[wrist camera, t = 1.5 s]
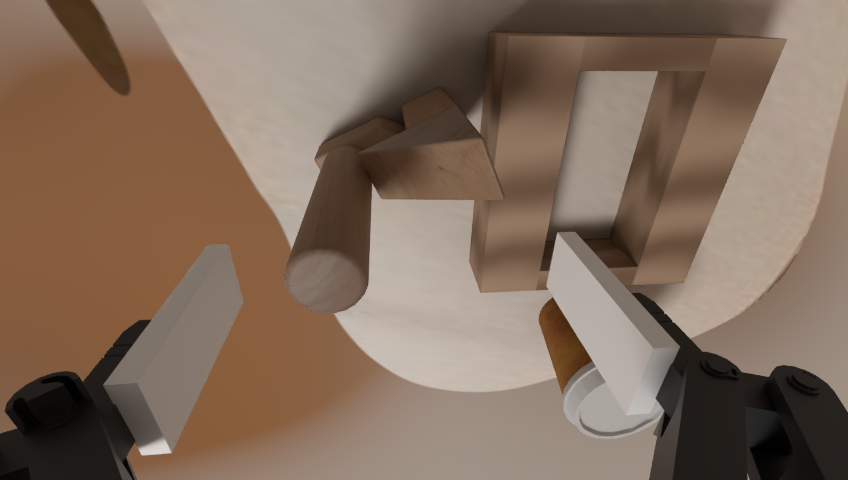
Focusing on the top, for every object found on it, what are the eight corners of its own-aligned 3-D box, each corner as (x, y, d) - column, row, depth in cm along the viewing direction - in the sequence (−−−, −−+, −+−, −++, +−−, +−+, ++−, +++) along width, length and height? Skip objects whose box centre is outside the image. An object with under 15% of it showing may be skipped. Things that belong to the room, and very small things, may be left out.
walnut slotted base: (489, 31, 29) (508, 35, 25) (729, 34, 31) (787, 38, 26) (469, 261, 39) (480, 292, 35) (651, 253, 41) (683, 282, 36)
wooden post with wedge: (458, 127, 32) (532, 237, 17) (341, 182, 34) (309, 330, 18) (441, 83, 30) (506, 161, 15) (318, 143, 32) (260, 271, 16)
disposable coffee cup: (527, 353, 46) (570, 451, 36) (521, 290, 41) (568, 383, 31) (607, 334, 46) (673, 428, 36) (610, 269, 41) (687, 356, 31)
